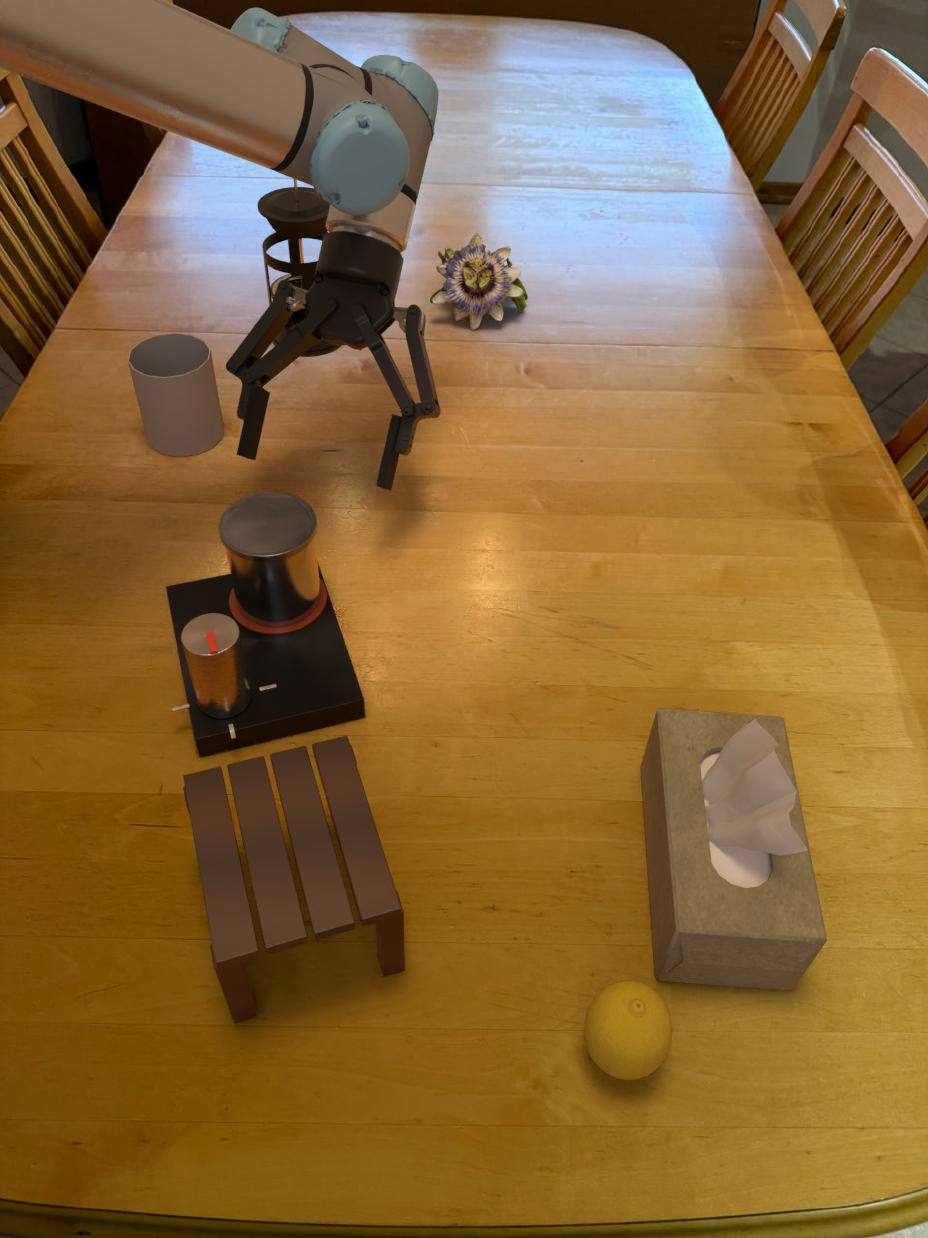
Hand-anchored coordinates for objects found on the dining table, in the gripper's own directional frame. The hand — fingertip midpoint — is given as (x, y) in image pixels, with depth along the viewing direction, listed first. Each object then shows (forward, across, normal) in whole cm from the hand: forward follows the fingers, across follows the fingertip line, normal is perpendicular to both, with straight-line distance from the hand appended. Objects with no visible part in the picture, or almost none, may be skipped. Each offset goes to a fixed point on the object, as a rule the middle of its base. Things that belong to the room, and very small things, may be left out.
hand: (313, 473), depth 91 cm
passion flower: (-28, -2, -42) cm, 50 cm away
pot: (+12, 0, +2) cm, 12 cm away
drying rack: (+32, -13, +19) cm, 39 cm away
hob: (+17, 0, +4) cm, 18 cm away
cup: (-2, +21, -16) cm, 27 cm away
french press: (-18, +16, -32) cm, 41 cm away
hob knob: (+20, 0, +10) cm, 23 cm away
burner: (+12, 0, +2) cm, 12 cm away
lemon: (+35, -37, +21) cm, 55 cm away
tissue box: (+24, -42, +10) cm, 49 cm away
